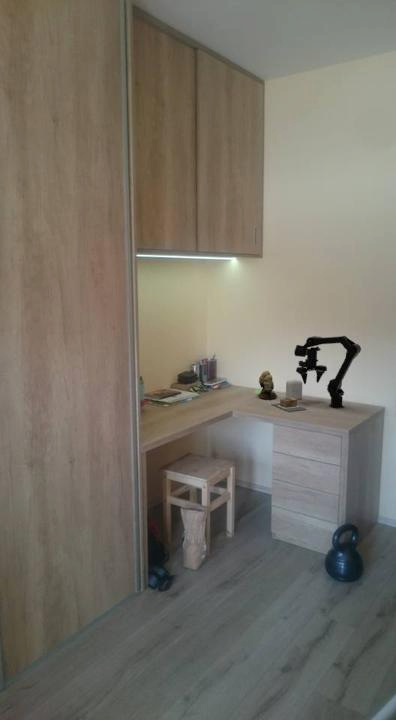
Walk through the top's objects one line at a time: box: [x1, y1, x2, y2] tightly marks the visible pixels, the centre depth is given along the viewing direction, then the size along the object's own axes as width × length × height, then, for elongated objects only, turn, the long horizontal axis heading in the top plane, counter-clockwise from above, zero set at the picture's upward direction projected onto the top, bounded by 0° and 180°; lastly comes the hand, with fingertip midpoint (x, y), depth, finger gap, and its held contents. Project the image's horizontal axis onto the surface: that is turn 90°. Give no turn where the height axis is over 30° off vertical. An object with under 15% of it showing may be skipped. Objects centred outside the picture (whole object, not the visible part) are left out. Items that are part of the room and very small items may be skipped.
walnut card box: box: [279, 397, 298, 408], centre depth 305 cm, size 8×6×4 cm
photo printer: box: [285, 378, 303, 400], centre depth 325 cm, size 10×4×12 cm, turn 98°
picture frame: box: [271, 402, 307, 413], centre depth 305 cm, size 18×12×1 cm, turn 25°
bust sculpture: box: [258, 370, 278, 401], centre depth 329 cm, size 18×12×17 cm, turn 0°
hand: (311, 383), depth 313 cm, fingers open, 9 cm apart
